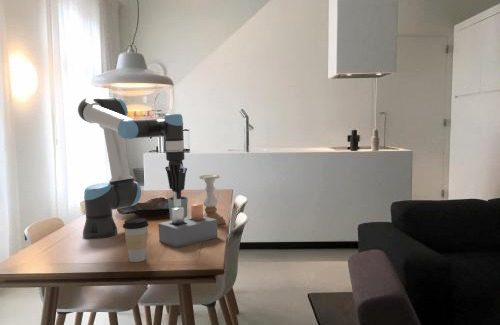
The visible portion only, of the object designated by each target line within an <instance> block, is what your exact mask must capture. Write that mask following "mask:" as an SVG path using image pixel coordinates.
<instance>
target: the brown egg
mask: <svg viewBox="0 0 500 325" xmlns="http://www.w3.org/2000/svg"><path fill="white" fill-rule="evenodd" d="M203 206H204V204H203V203H193V204H191V205H190V217H191V220H192V221H195V222H196V221H201V220H203V215H204V207H203Z"/></svg>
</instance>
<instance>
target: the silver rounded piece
mask: <svg viewBox="0 0 500 325" xmlns="http://www.w3.org/2000/svg"><path fill="white" fill-rule="evenodd" d="M183 224H185V223H184V208H182V207H176V208H172V225H175V226H179V225H183Z"/></svg>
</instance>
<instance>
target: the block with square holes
mask: <svg viewBox="0 0 500 325" xmlns="http://www.w3.org/2000/svg"><path fill="white" fill-rule="evenodd" d="M184 223H185V224H183V225H179V226H175V225H172V221H170V220H167V221H163V222H158V239H159V240H158V241H159V242H160V243H163V244H165V245H168V246H172V247H174V248H177V249H179V248H182V247H186V246H190V245H194V244H197V243H201V242H205V241H210V240H211V239H212V240H213V239H216V238H219V237H218V225H217V219H213V218H209V217H205V216H203V220H201V221H196V222H195V221H192V220H191V216H187V217H186V218H184Z"/></svg>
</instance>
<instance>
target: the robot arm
mask: <svg viewBox="0 0 500 325" xmlns="http://www.w3.org/2000/svg"><path fill="white" fill-rule="evenodd" d="M77 112H78V115H79V117H80V119H82V120H83V121H85V122H87V123H89V124H98V125H99V127H100V128H101V129H102V130H103V133H104V138H105V139H104V140H105V145H106V151H107V152H106V153H107V157H108V162H109V169H110V175H111V179H110V180H109V182H101V183H95V184H91V185H89V186H87V187H86V188H85V189H84V192H83V193H84V195H83V197H84V208H85V209H84V210H85V222H84V227H83V230H82V237H83V238H84V239H91V240H95V239H96V240H97V239H99V240H100V239H104V238H109V237H113V236H115V235H117V234H118V227H117V225H116V222H115V219H114V217H113V210H117V209H123V208H129V207H133V206H135V205H137V204H138V203H139V202H140V201H141V197H142V189H141V186H140V184H139V183H138V182H137V181H135V178H134V177H133V176H132V175H131V173H130V167H129V162H128V156H127V150H126V144H125V139H129V140H132V139H143V138H161V137H163V138H164V137H165V138H164V140H165V150H166V152H165V155H166V156H165V158H166V161H167V162H168V165H167V166H165V168H164V169H165V171H166V175H167V180H168V181H167V182H168V186H169V189H170V190H172V194H173V196H172V197H173V198H174V207H179V206H181V197H182V191H184V190H185V184H186V177H187V176H186V175H187V174H186V173H187V171H188V168H187V167H184V163H183V161H184V160H185V151H184V150H185V146H184V143H185V142H184V121H183V115H182V114H181V113H168V114H167V113H166V114H165V115H164V117H163V118H164V119H163V118H161V119H160V118H159V119H157V118H155V119H154V118H153V119H134V118H132V117H129V116H128V107H127V104H126V102H125V101H124V100H122V99H121V98H119V97H113V96H110V97H109V96H105V97H104V96H103V97H102V96H90V97H86V98H84V99H82V100H81V101H80V103H79V104H78V107H77Z"/></svg>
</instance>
